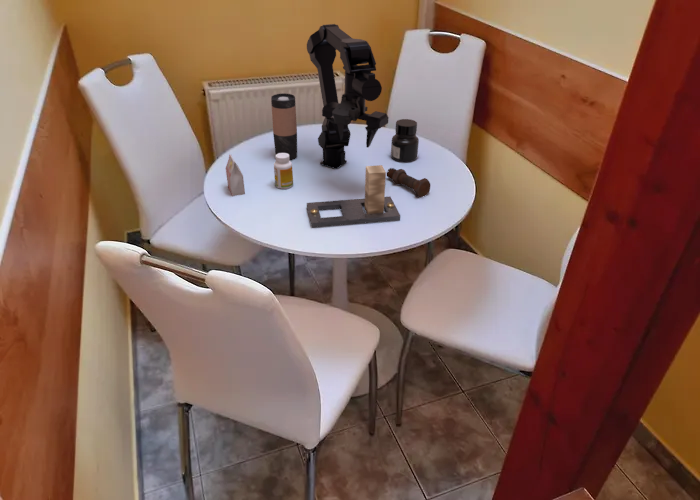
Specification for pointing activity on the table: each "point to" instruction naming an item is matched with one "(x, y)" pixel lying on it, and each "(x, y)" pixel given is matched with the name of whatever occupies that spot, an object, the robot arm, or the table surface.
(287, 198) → the table surface
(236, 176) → the tea bag
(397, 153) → the ink bottle
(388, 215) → the strike plate
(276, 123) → the travel mug
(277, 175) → the supplement bottle
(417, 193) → the bolt
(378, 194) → the birch peg
